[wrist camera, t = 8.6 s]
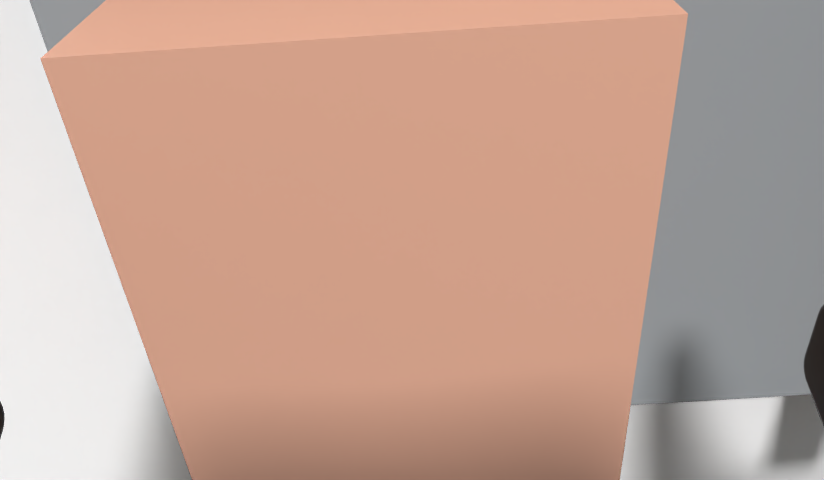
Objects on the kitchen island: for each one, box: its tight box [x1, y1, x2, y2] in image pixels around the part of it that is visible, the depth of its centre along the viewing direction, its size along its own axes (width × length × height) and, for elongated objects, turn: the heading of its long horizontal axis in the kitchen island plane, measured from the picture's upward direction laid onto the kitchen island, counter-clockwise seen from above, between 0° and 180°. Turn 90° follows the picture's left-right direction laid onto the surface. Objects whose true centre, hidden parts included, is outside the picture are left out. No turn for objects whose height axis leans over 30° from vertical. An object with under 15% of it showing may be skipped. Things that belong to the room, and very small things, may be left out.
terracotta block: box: [40, 0, 688, 480], centre depth 9 cm, size 4×8×5 cm, turn 4°
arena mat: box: [30, 0, 824, 405], centre depth 11 cm, size 12×12×1 cm
